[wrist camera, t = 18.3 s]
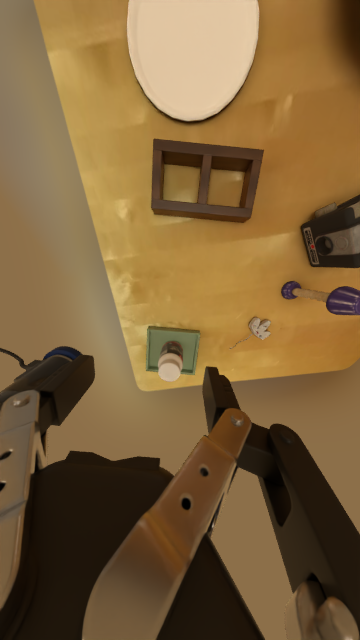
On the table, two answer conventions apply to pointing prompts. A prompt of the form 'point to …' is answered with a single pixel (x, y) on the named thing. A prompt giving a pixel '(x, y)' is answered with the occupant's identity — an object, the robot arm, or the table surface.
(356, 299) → the toy lamp
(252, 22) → the plate
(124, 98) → the table surface
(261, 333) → the game controller
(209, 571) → the robot arm
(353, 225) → the camera
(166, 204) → the rack
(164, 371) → the pill bottle
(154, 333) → the tray
